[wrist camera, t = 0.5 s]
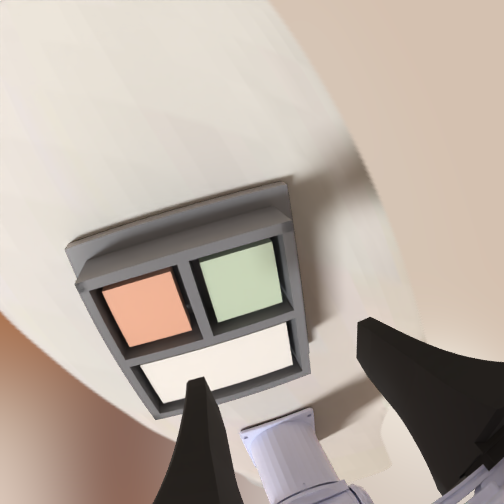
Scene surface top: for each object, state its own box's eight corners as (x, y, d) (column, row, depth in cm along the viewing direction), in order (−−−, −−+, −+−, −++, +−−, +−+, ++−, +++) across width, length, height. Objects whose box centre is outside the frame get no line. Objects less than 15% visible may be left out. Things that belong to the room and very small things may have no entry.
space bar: (285, 351, 22) (292, 364, 21) (162, 388, 21) (163, 403, 19) (278, 309, 21) (285, 322, 19) (140, 350, 19) (140, 365, 18)
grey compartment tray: (304, 345, 25) (324, 377, 22) (146, 393, 23) (148, 430, 20) (281, 181, 19) (308, 194, 16) (68, 243, 17) (49, 271, 14)
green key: (274, 289, 20) (282, 301, 19) (213, 308, 19) (218, 322, 18) (263, 232, 18) (272, 241, 17) (196, 251, 17) (199, 262, 16)
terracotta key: (189, 315, 19) (192, 330, 18) (131, 332, 18) (129, 347, 17) (169, 259, 17) (170, 271, 16) (105, 278, 17) (101, 291, 15)
